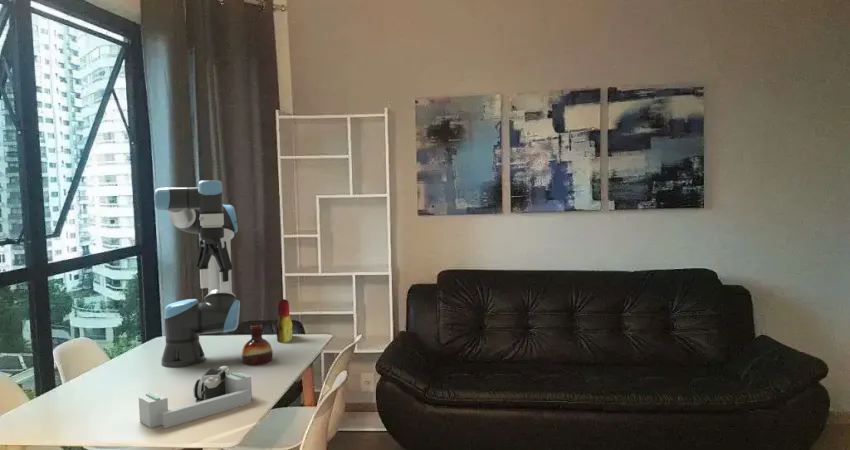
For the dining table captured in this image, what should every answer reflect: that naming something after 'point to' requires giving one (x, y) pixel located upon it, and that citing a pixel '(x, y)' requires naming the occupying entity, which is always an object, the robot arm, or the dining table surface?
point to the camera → (211, 384)
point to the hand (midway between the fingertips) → (214, 289)
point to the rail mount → (195, 404)
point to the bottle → (284, 322)
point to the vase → (257, 348)
